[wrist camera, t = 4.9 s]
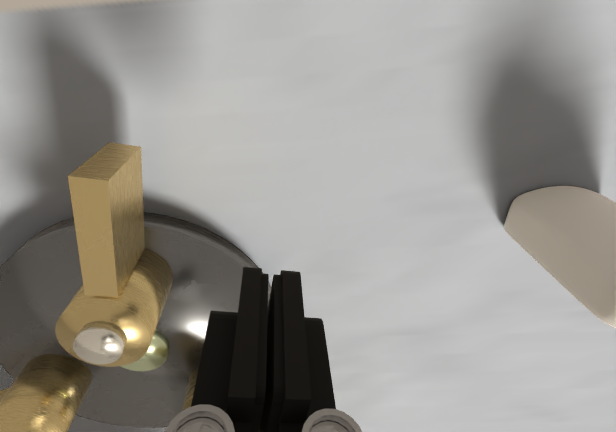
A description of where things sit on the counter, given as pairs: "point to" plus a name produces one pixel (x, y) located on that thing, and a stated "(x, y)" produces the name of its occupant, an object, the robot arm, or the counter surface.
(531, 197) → the eye dropper bottle
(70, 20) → the counter surface
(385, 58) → the counter surface
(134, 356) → the knob
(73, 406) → the knob
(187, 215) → the counter surface
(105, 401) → the base
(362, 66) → the counter surface
